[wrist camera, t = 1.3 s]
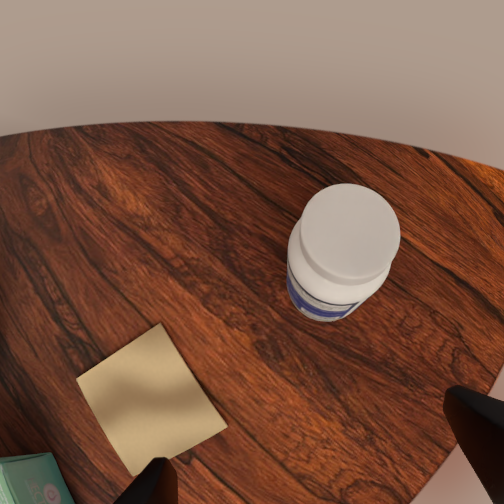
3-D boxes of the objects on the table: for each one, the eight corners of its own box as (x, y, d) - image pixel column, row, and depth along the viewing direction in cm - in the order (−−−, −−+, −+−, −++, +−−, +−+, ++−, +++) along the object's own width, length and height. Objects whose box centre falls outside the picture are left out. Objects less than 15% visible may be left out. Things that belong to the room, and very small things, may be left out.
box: (89, 522, 17) (40, 550, 10) (6, 517, 16) (-39, 530, 9) (56, 449, 20) (-3, 461, 13) (-19, 458, 19) (-67, 461, 12)
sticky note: (228, 426, 20) (227, 426, 20) (134, 475, 19) (132, 476, 19) (161, 323, 23) (160, 322, 23) (77, 378, 22) (75, 378, 22)
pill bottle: (336, 234, 24) (365, 156, 15) (377, 297, 22) (434, 250, 13) (271, 269, 24) (265, 205, 15) (310, 337, 22) (333, 316, 13)
